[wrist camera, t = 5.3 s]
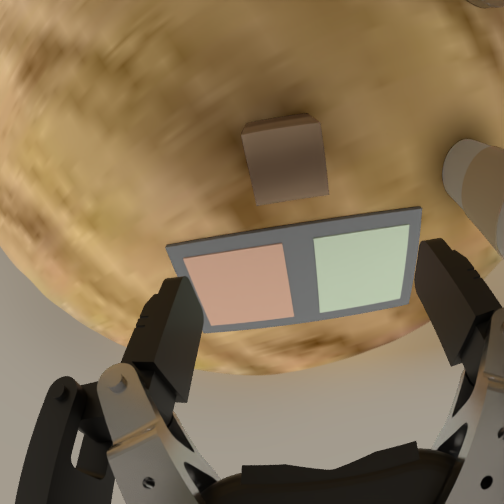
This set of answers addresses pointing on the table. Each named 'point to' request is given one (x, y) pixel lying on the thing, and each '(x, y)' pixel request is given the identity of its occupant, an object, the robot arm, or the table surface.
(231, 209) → the table surface
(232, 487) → the robot arm
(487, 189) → the coffee cup
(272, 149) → the walnut block
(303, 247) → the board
